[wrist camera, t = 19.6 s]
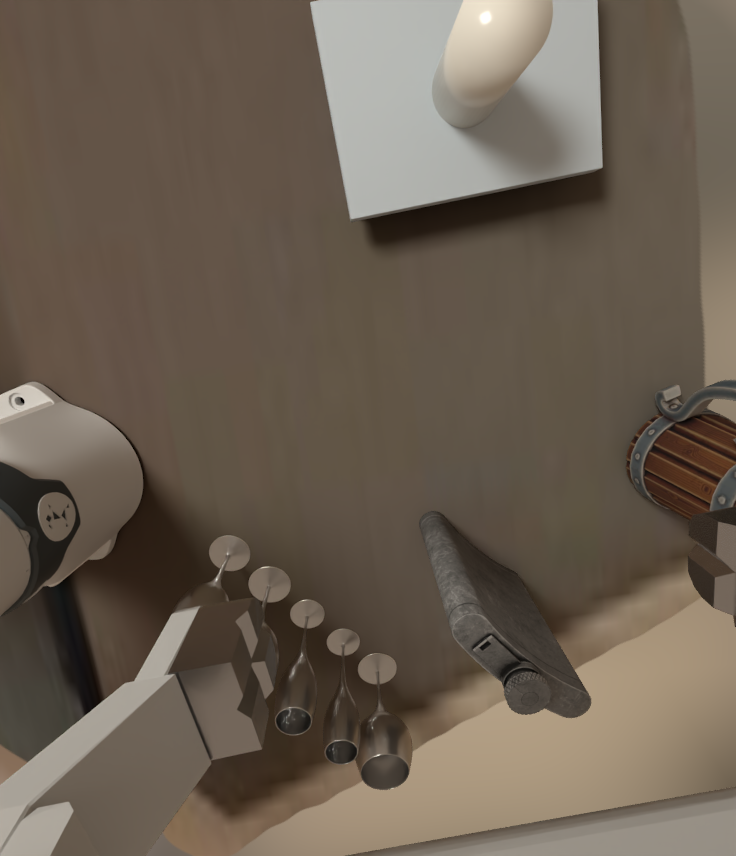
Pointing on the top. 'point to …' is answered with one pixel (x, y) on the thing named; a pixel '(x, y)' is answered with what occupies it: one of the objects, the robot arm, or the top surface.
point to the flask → (501, 625)
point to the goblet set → (297, 692)
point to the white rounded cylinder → (487, 56)
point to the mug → (686, 453)
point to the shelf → (425, 129)
